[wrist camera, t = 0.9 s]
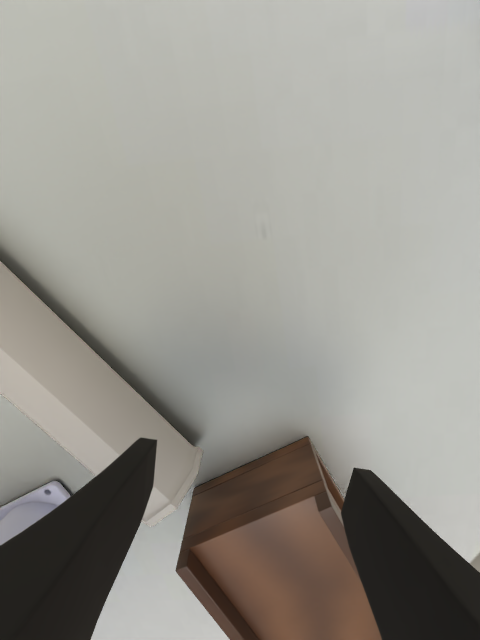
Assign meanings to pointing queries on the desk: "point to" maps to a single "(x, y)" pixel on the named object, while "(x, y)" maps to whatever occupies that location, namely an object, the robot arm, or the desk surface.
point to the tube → (84, 398)
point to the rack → (275, 552)
